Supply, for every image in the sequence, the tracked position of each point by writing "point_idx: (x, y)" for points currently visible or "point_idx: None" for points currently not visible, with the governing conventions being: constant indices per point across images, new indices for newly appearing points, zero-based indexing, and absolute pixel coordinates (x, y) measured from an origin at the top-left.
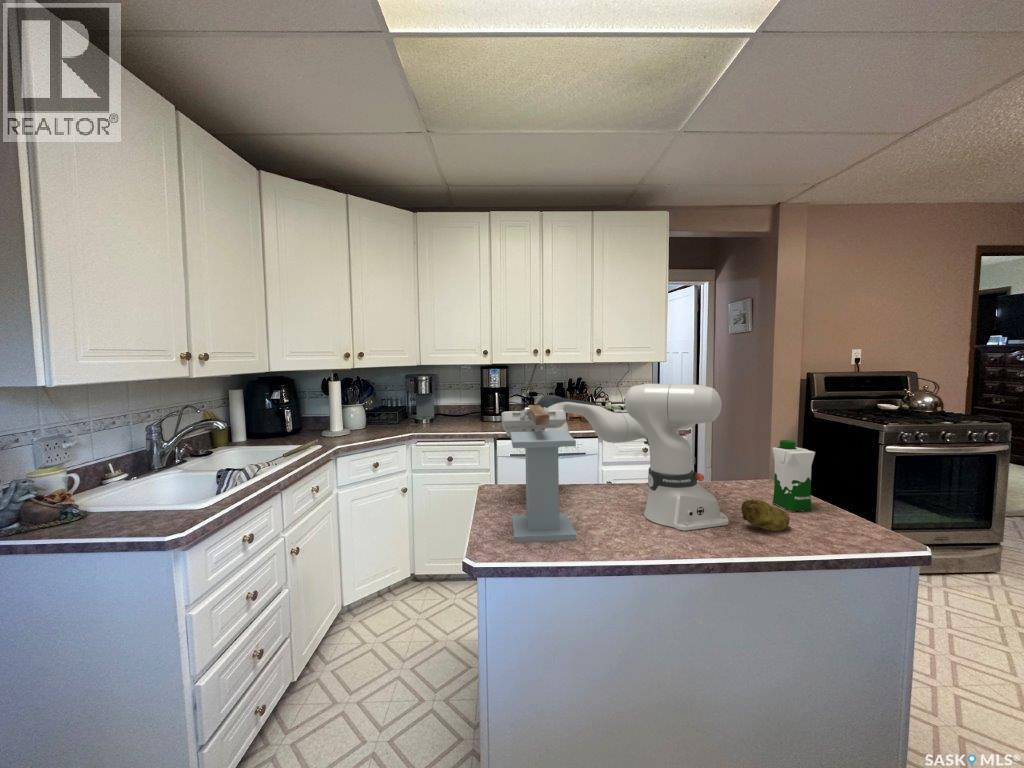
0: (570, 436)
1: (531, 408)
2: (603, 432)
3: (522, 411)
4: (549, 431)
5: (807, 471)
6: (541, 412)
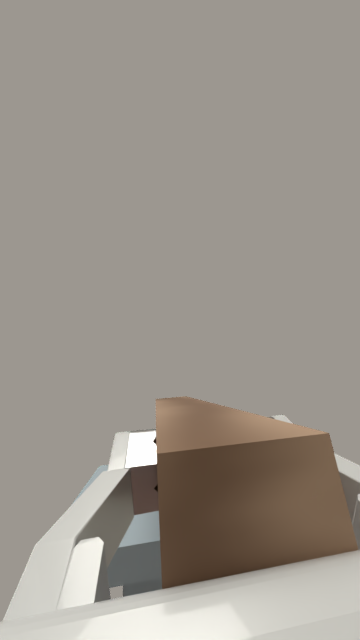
0: (87, 486)
1: (215, 405)
2: None
3: (348, 470)
4: (131, 537)
5: None
6: (170, 400)
